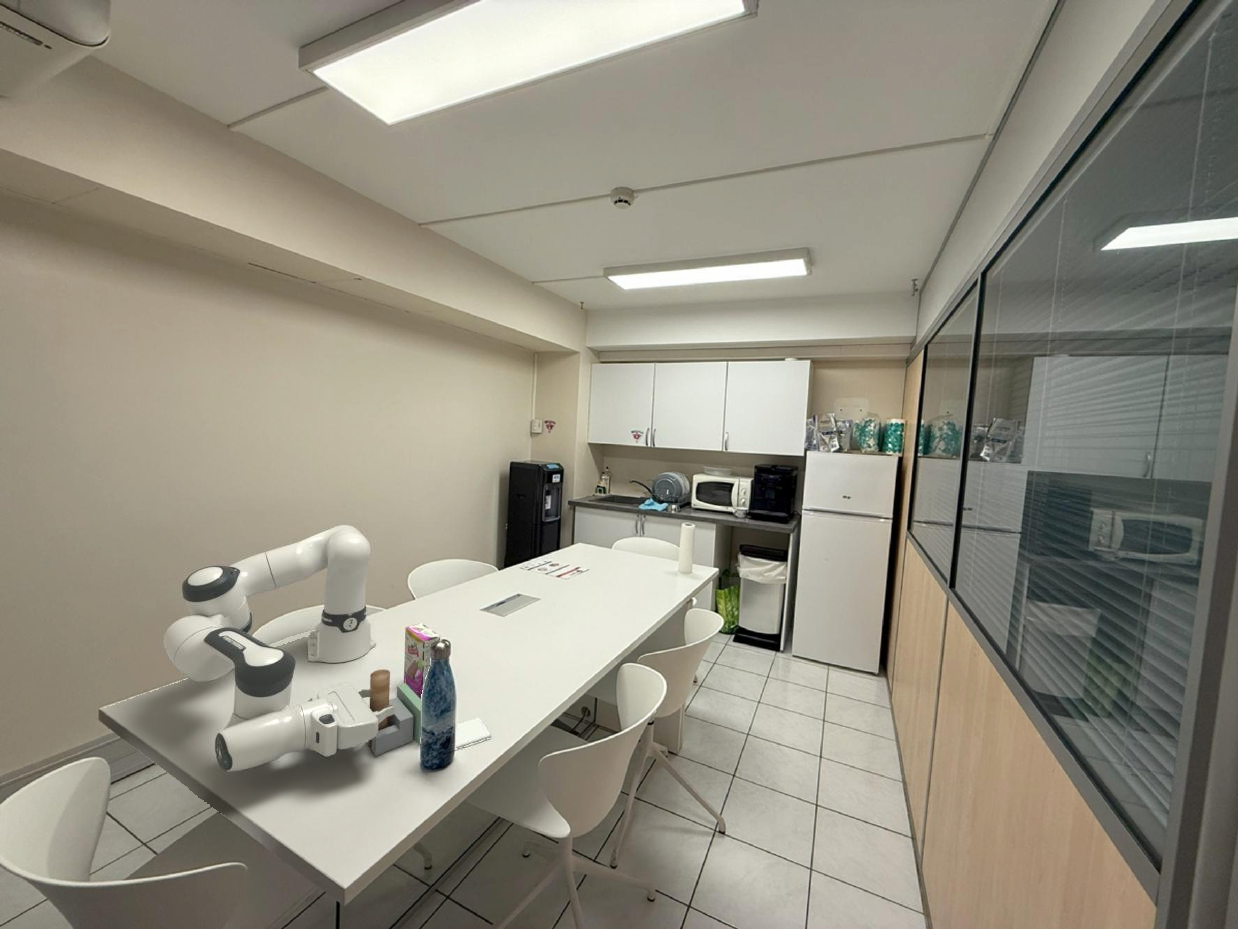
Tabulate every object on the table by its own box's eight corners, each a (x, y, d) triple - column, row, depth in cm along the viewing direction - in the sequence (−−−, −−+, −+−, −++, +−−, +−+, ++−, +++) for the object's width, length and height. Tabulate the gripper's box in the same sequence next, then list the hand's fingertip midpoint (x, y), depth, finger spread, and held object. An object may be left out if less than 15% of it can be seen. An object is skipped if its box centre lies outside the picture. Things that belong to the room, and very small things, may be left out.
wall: (395, 716, 121) (397, 685, 120) (404, 713, 122) (405, 683, 122) (418, 744, 111) (420, 711, 110) (427, 741, 112) (428, 708, 112)
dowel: (366, 739, 112) (367, 673, 110) (384, 732, 114) (386, 667, 113) (371, 748, 109) (373, 680, 107) (390, 741, 111) (392, 674, 110)
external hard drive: (490, 741, 115) (436, 759, 108) (478, 723, 122) (426, 738, 114) (491, 734, 115) (437, 752, 108) (478, 716, 121) (427, 732, 114)
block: (360, 733, 113) (361, 708, 113) (396, 720, 119) (397, 697, 119) (375, 755, 106) (376, 729, 106) (412, 741, 112) (413, 716, 112)
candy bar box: (402, 683, 136) (404, 626, 135) (419, 677, 140) (421, 622, 139) (421, 700, 129) (423, 640, 128) (438, 693, 132) (441, 635, 131)
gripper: (304, 713, 110) (370, 693, 119) (329, 761, 95) (401, 734, 105) (305, 686, 109) (371, 668, 119) (330, 730, 95) (403, 706, 104)
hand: (385, 699), depth 112 cm, fingers open, 8 cm apart
